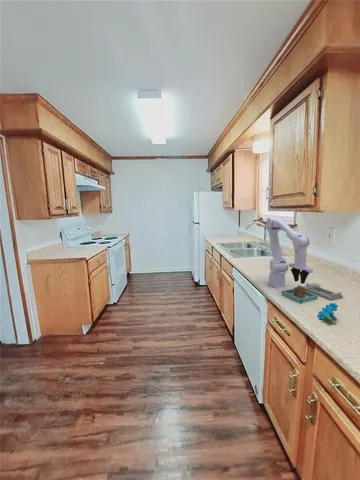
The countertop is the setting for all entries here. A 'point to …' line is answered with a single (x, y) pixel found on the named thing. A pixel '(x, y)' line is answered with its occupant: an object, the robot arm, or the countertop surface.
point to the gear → (328, 312)
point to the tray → (299, 300)
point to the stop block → (299, 292)
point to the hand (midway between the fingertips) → (299, 282)
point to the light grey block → (314, 286)
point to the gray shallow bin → (324, 293)
